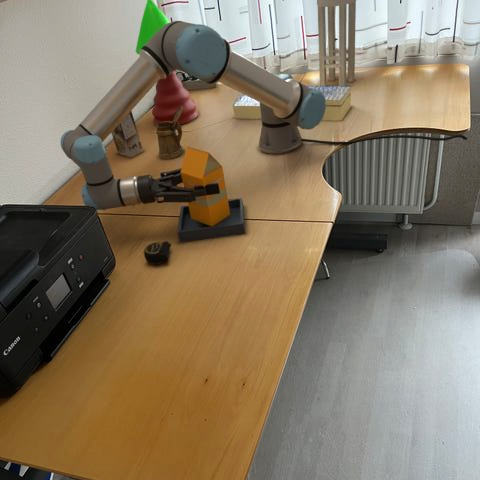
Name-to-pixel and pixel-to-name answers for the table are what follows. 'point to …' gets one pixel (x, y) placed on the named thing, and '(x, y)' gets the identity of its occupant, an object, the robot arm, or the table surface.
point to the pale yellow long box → (335, 96)
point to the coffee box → (127, 137)
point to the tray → (225, 227)
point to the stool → (330, 2)
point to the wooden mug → (170, 137)
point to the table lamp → (170, 88)
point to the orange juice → (202, 173)
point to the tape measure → (157, 252)
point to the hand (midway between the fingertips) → (219, 179)
